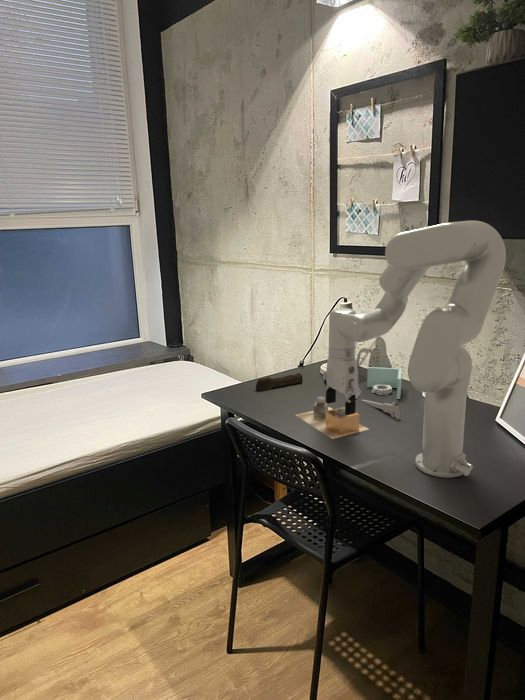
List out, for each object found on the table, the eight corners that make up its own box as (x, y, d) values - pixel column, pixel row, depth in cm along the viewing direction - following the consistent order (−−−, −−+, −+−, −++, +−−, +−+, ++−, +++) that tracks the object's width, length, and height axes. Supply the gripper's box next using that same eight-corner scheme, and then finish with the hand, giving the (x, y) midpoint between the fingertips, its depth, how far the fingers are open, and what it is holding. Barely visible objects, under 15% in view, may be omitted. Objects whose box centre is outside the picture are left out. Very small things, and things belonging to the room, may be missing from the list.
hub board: (369, 432, 150) (369, 410, 149) (332, 442, 145) (332, 419, 143) (329, 409, 169) (329, 389, 167) (295, 417, 163) (294, 397, 161)
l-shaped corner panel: (367, 386, 190) (367, 367, 188) (401, 388, 186) (401, 368, 184) (364, 397, 179) (364, 377, 177) (400, 399, 175) (400, 378, 173)
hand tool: (298, 381, 199) (298, 370, 198) (303, 384, 195) (303, 372, 194) (253, 389, 192) (252, 377, 191) (257, 392, 188) (257, 380, 187)
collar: (359, 430, 150) (359, 414, 149) (339, 435, 147) (339, 419, 146) (345, 422, 156) (345, 406, 155) (325, 427, 153) (325, 411, 152)
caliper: (400, 422, 157) (400, 403, 155) (397, 423, 157) (397, 404, 155) (361, 402, 175) (361, 384, 173) (358, 402, 175) (358, 385, 173)
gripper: (371, 358, 140) (368, 416, 144) (335, 343, 155) (334, 396, 159) (349, 362, 136) (347, 421, 141) (314, 346, 151) (313, 400, 156)
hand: (340, 408), depth 150 cm, fingers open, 9 cm apart
